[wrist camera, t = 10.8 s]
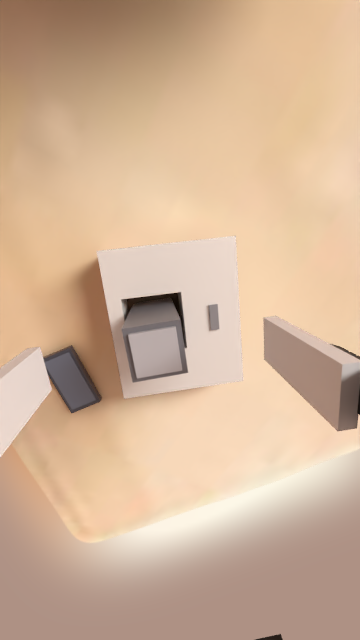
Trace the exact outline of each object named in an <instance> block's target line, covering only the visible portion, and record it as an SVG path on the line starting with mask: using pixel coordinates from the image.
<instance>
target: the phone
mask: <svg viewBox="0 0 360 640" xmlns="http://www.w3.org/2000/svg"><path fill="white" fill-rule="evenodd" d="M43 359H44V363H45V366H46V370H47V374H48V376H49V377H50V379H51V380H52V382H53V384H54V385H55V387H56V389H57V390H58V392H59V393H60V395H61V397H62V398H63V400H64V402H65V403H66V405H67V406H68V408H69V410H70V411H71V413H74V412H76V411H78V410H81V409H83V408H85V407H88V406H90V405H93V404H95V403H97V402H100V401H101V396H100V394H99V393H98V391H97V389H96V387H95V385H94V384H93V382H92V380H91V378H90V377H89V375H88V373H87V371H86V369H85V368H84V366H83V364H82V362H81V361H80V359H79V357H78V355H77V353H76V352H75V350H74V348H73V346H72V345H71V346H69V347H67V348H64V349H62V350H60V351H57V352H55V353H52V354H50V355H48V356H45V357H43Z"/></svg>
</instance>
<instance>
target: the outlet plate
mask: <svg viewBox="0 0 360 640" xmlns="http://www.w3.org/2000/svg"><path fill="white" fill-rule="evenodd" d="M97 256H98V261H99V267H100V272H101V277H102V283H103V288H104V294H105V299H106V304H107V310H108V315H109V321H110V326H111V331H112V337H113V342H114V348H115V353H116V358H117V364H118V369H119V375H120V380H121V386H122V391H123V396H124V399H127V398H133V397H140V396H146V395H153V394H159V393H166V392H173V391H179V390H186V389H192V388H199V387H206V386H212V385H219V384H225V383H232V382H239V381H243V364H242V345H241V326H240V307H239V288H238V269H237V250H236V236H229V237H220V238H211V239H202V240H193V241H184V242H175V243H165V244H156V245H147V246H138V247H129V248H120V249H111V250H102V251H97ZM177 292H178V299H179V308H180V317H181V326H182V334H183V341H184V347H185V354H186V361H187V368H188V373H185V374H179V375H173V376H168V377H162V378H156V379H151V380H145V381H139V382H134V383H133V382H132V377H131V372H130V368H129V363H128V358H127V353H126V349H125V344H124V339H123V334H122V327H123V325H124V322H125V320H126V318H127V316H128V314H129V311H128V305H127V299H129V298H137V297H145V296H153V295H161V294H169V293H177Z"/></svg>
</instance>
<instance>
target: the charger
mask: <svg viewBox="0 0 360 640" xmlns="http://www.w3.org/2000/svg"><path fill="white" fill-rule="evenodd" d="M122 334H123V339H124V344H125V349H126V353H127V358H128V363H129V368H130V372H131V377H132V382H133V383H134V382H139V381H145V380H151V379H156V378H162V377H168V376H173V375H179V374H185V373H188V368H187V361H186V354H185V347H184V341H183V334H182V327H181V320H180V317H179V315H178V313H177V310H176V308H175V306H174V303H173V301H172V299H171V298H165V299H158V300H152V301H145V302H139V303H133V305H132V307H131V310H130V312H129V314H128V316H127V318H126V320H125V322H124V325H123V327H122Z"/></svg>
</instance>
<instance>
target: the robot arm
mask: <svg viewBox="0 0 360 640" xmlns="http://www.w3.org/2000/svg"><path fill="white" fill-rule="evenodd" d="M264 360H265V361H266V362H267V363H268V364H270V365H271V366H272V367H273V368H274V369H275V370H276V371H277V372H278V373H279V374H280V375H281V376H282V377H283V378H284V379H285V380H286V381H287V382H288V383H289V384H290V385H291V386H292V387H293V388H294V389H295V390H296V391H297V392H298V393H299V394H300V395H301V396H302V397H303V398H304V399H305V400H306V401H307V402H308V403H309V404H310V405H311V406H312V407H313V408H314V409H315V410H316V411H318V412H319V413H320V414H321V415H322V416H323V417H324V418H325V419H326V420H327V421H328V422H329V423H330V424H331V425H332V426H333V427H334V428H335V429H336V430H337V431H342V430H348V429H355V428H357V422H358V414H359V415H360V356H356V354H354V353H352V352H349V351H348V350H346V349H344V348H342V347H340V346H336V345H333V344H329V343H327V342H325V341H323V340H321V339H319V338H317V337H315V336H313V335H312V334H310V333H308V332H306V331H304V330H302V329H300V328H298V327H296V326H294V325H292V324H290V323H289V322H287V321H285V320H283V319H281V318H279V317H277V316H271V317H264ZM51 390H52V388H51V385H50V381H49V377H48V374H47V370H46V366H45V363H44V359H43V356H42V352H41V348H40V347H35V348H27V349H25V350H24V351H22V352H21V353H20V354H18V355H17V356H16V357H14V358H13V359H12V360H10V361H9V362H8V363H6V364H5V365H3V366H2V367H1V368H0V457H1V456H2V455H3V453H4V452H5V451H6V449H7V448H8V447H9V445H10V444H11V443H12V441H13V440H14V439H15V438H16V436H17V435H18V434H19V432H20V431H21V430H22V428H23V427H24V426H25V424H26V423H27V422H28V420H29V419H30V418H31V416H32V415H33V414H34V412H35V411H36V410H37V409H38V407H39V406H40V405H41V403H42V402H43V401H44V399H45V398H46V397H47V395H48V394H49V393H50V391H51ZM256 640H282V637H281V634H280V635H274V636H270V637H265V638H260V639H256Z"/></svg>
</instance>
